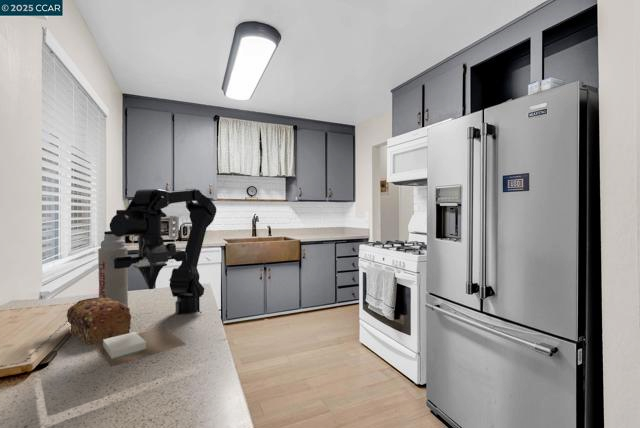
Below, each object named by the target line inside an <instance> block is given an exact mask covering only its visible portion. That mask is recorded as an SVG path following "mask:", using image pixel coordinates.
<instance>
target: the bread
mask: <svg viewBox="0 0 640 428" xmlns="http://www.w3.org/2000/svg"><path fill="white" fill-rule="evenodd" d="M66 318H67V321H66V322H69V323H70V324H71V334H70V335H74V336H76V337H78V338H79V340H81V341H83V342H84V343H85V344H86V345H89V346H90V345H93V344H98V343H102V342H103V339H107V338H111V337H116V336H120V335H124V334H128V333H131V332H130V330H131V324H132V323H131V322H132V321H131V320H132V315H131V309H130V307H129V306H128V307H127V306H126V305H125V304H122V303H120V302H118V301H116V300H113V299H110V298H107V297H101V298H99V297H92V298H85V299H81V300H79V301H77V302H76V303H74V304H73V305H71V306H70V307H69V308H68V310H67V312H66Z"/></svg>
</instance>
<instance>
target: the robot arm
mask: <svg viewBox="0 0 640 428" xmlns="http://www.w3.org/2000/svg"><path fill="white" fill-rule="evenodd" d="M131 199H132V200H130V202H129V204H128V205H127V207H126V209H117V210H115V213H116V214H115V215H114V216H113V217H111V220H110V223H109V229H110V230H109V231H111V232H112V233H113V234H114V235H115V236H117V237H122V238H123V237H132V236H138V237H137V242H138V251H137V256H131V255H129V254H127V255H118V256H112V257H111V258H110V260H109V266H110V267H112V268H114V269H120V268H130V267H131V266H132V265H133V267H134V268H136V269H138V270H139V272H140V274H141V275H142V277H143V279H144V282H145V284H146V286H147V288H148V290H154V286H155V284H156V282H157V279H158V276H159V274H160V271H161V270H162V269H163V268H164V267H166V266H168V263H167V262H169V260H174V261H176V262H181V263H180V265H179V267H176V268H175V267H173V269H172V270H171V274H170V275H171V276H170V278H169V279H168V281H169V288H170V292H171V296H172V297H174V298H176V301H175V313H176V315H184V314H185V315H187V314H194V313H196V312H198V313H200V314H203V312H202V311H200V310H201V309H200V305H201V304H200V298H201V297H203V296H204V294H205V293H204V292H205V287H204V286H203V285H202V283H201V282H200V273H199V271H198V264H199V260H200V256H201V252H202V248H203V245H204V240H205V237H206V236H205V235H206V232H207V229H208V228H209V226H210V225H211V224H212V223H213V222H214V219H215V216H216V214H217V207H216V205H215V203H213V201H212V200H211V199H210V198H208V196H205V195H204V194H203V193H202V191H200V190H199V189H197V188H185V189H181V190H169V191H168V190H165V189H158V188H156V189H153V188H152V189H150V188H148V189H137V190H136V191H135V194H134V196H133V197H132V198H131ZM194 201H196V202H194ZM183 202H185V209H187V210H188V211H189V220H190V222H191V227H190V231H189V235H188V238H187V242H186V245H185V248H184V249H185V250H181V249H177V246H176V243H174V242H171V243H166V244H164V237H162V218H167V214H166V213H165V212H163V210H162V209H165V208H167V207H168V206H169V205H171V204H176V203H183Z"/></svg>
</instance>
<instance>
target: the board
mask: <svg viewBox="0 0 640 428" xmlns="http://www.w3.org/2000/svg"><path fill="white" fill-rule="evenodd" d="M137 334H138V335H139V336H140V337H141V338H142V339H143V340H144V341H146V350H144V351H140V352H137V353H133V354H129V355H126V356H122V357H119V358H115V359H111V358H110V356H109V355H108V354H107V352H106V351H105V349H104V348H103V341H101V342H97V343H95V344H96V346H97V348H98V349H99V351H100V352H101V354H102V355H103V358H105V360H106V361H107V363H108V365H109V366H110V367H114V366H118V365H120V364H121V365H122V364H124V363H127V362H131V361H134V360H137V359H141V358H145V357H148V356H151V355H155V354H157V353H161V352H165V351H168V350H171V349H174V348H177V347H181V346H185V345H187V343H186V342H184V341H183V340H182V339H181V338H179V337H178V336H177V335H175V334H173V333H172V331H170V330H168V329H167V328H166V327H165V326H164V327H160V328H156V329H151V330H147V331H144V332H143V331H142V332H140V333H139V332H138V333H137Z"/></svg>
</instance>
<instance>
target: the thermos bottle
mask: <svg viewBox="0 0 640 428" xmlns="http://www.w3.org/2000/svg"><path fill="white" fill-rule="evenodd" d="M103 234H104V236H103V240H102V241H101V242H100V244H99V245H100V248H98V252H97V254H98V258H97V259H98V298H101V297H107V298H110V299H113V300H116V301H118V302H120V303H122V304H125V305H126V306H127V307H128V308H129V293H128V289H129V288H128V286H129V285H128V283H129V282H128V281H129V280H128V279H129V277H128V275H129V273H128V270H129V269H128V268H129V267H128V268H120V269H114V268H112V267H110V266H109V260H110V258H111V257H112V256H118V255H128V247H127V246H126V243H125V242H126V240H124V239H123V237H117V236H115V235H114V234H113V233H112V232H111V230H107V231H104V232H103Z"/></svg>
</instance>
